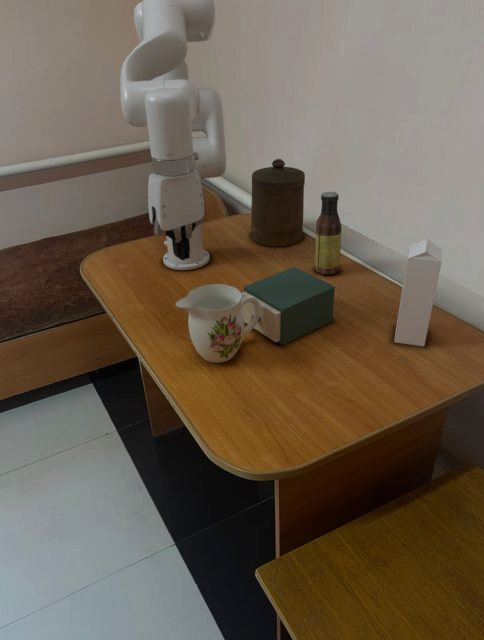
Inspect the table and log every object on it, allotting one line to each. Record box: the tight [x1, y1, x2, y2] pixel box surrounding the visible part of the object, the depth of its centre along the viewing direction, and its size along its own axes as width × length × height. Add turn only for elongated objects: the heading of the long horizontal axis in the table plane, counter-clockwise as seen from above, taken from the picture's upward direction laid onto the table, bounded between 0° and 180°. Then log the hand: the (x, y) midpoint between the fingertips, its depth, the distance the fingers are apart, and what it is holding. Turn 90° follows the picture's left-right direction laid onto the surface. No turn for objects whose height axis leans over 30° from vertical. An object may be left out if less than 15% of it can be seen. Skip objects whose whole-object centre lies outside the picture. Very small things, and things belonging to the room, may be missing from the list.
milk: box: [393, 231, 443, 347], centre depth 105 cm, size 6×6×22 cm
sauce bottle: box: [314, 191, 342, 276], centre depth 132 cm, size 6×6×20 cm
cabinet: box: [243, 266, 336, 346], centre depth 116 cm, size 15×13×9 cm
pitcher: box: [174, 283, 261, 364], centre depth 106 cm, size 11×18×14 cm, turn 119°
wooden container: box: [250, 158, 306, 247], centre depth 151 cm, size 15×15×22 cm
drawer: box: [241, 291, 281, 343], centre depth 115 cm, size 15×11×7 cm
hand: (182, 256), depth 107 cm, fingers closed
